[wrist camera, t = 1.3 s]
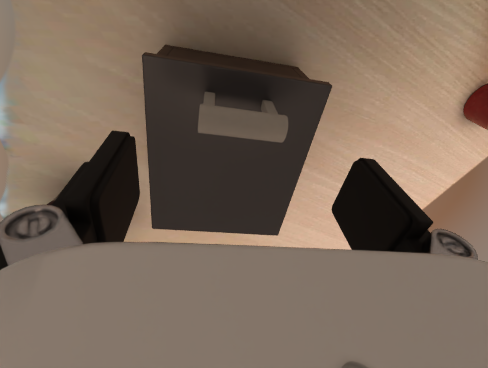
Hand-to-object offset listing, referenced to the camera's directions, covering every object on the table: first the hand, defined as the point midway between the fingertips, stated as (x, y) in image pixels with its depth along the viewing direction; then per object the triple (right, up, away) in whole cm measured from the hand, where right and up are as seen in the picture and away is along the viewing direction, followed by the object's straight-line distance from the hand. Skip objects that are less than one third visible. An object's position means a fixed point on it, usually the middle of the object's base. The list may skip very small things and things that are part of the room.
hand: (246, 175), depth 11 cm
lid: (-2, +1, +11) cm, 11 cm away
